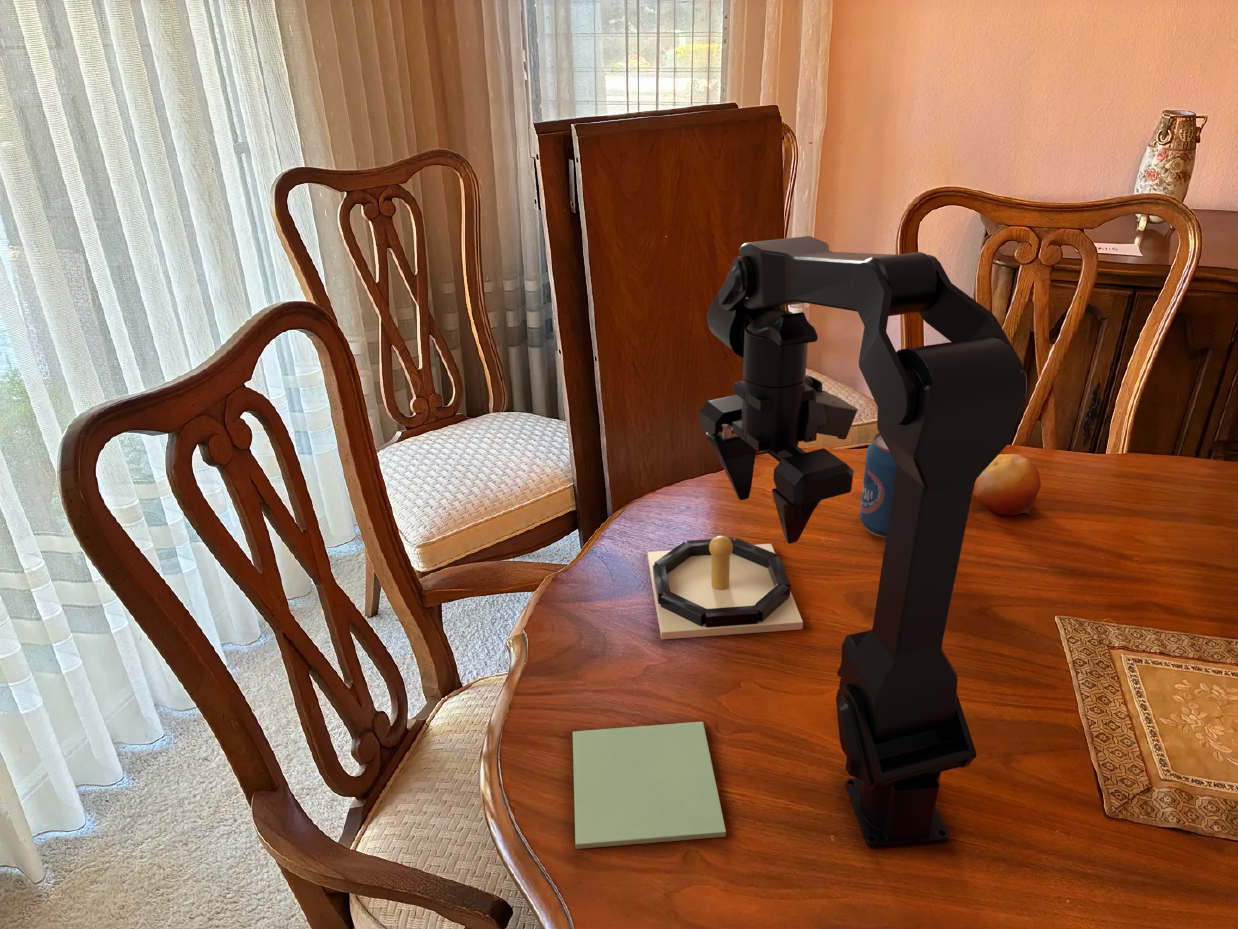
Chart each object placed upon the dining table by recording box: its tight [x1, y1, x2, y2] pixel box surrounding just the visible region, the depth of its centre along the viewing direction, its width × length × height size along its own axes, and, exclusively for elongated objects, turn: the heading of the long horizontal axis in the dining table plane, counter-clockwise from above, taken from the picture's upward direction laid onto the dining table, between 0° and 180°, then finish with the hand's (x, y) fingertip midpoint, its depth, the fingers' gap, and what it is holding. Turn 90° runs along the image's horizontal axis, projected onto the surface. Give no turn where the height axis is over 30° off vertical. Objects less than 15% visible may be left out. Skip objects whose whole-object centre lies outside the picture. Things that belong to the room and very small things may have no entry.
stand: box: [647, 535, 804, 640], centre depth 95 cm, size 15×15×7 cm
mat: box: [572, 721, 727, 850], centre depth 73 cm, size 12×12×1 cm
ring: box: [653, 537, 792, 628], centre depth 96 cm, size 15×15×1 cm
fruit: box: [973, 453, 1042, 516], centre depth 109 cm, size 8×8×8 cm
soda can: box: [859, 432, 896, 539], centre depth 104 cm, size 7×7×12 cm
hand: (766, 519), depth 87 cm, fingers open, 9 cm apart
